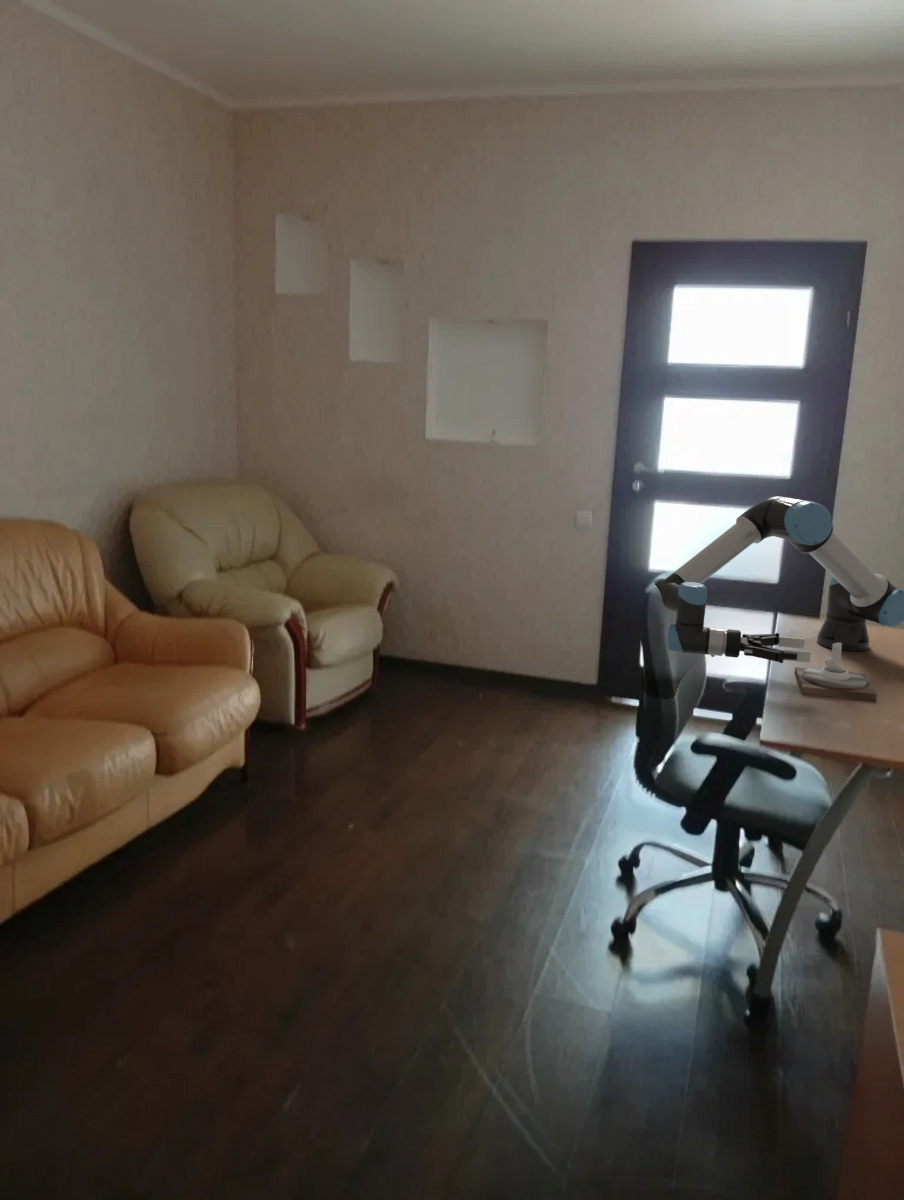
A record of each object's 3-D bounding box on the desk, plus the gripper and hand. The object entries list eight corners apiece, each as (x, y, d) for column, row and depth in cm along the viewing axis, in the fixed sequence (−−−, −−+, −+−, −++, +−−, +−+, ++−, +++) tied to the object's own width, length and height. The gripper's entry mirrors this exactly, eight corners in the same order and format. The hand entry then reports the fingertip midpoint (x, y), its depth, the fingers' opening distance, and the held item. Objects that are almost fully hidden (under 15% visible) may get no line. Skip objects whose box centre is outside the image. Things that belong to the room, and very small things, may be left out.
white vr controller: (825, 664, 234) (818, 643, 239) (822, 691, 243) (815, 671, 247) (855, 660, 233) (847, 639, 238) (851, 687, 241) (844, 667, 246)
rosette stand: (794, 673, 253) (795, 663, 253) (863, 680, 249) (864, 670, 248) (801, 693, 236) (802, 682, 236) (875, 701, 232) (877, 690, 231)
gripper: (722, 644, 260) (800, 651, 255) (725, 668, 236) (811, 677, 231) (724, 618, 258) (803, 625, 253) (727, 641, 234) (814, 649, 229)
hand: (807, 650), depth 242 cm, fingers open, 13 cm apart
